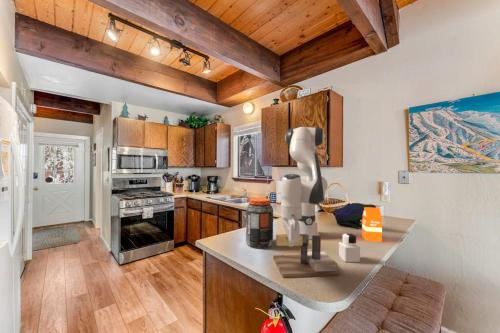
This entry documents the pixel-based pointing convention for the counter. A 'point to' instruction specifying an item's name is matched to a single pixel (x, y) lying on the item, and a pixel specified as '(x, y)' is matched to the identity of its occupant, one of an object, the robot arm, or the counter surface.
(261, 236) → the supplement tub
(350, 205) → the navy cloth bag
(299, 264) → the lock plate
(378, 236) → the orange juice
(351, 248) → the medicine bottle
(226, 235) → the counter surface
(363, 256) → the counter surface
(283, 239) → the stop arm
